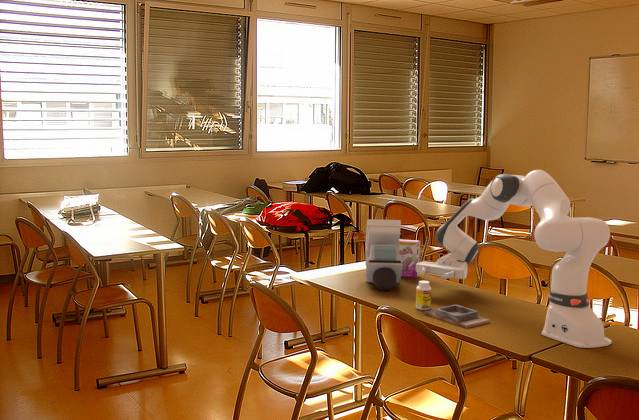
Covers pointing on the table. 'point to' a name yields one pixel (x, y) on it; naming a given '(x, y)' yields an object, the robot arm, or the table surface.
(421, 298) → the supplement bottle
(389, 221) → the robot
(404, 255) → the candy bar box
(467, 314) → the cup holder board
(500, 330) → the table surface
